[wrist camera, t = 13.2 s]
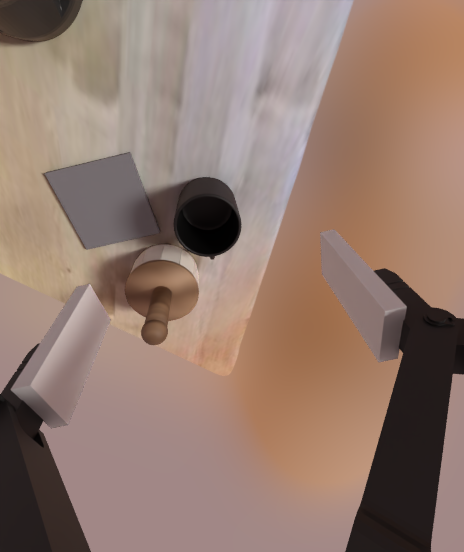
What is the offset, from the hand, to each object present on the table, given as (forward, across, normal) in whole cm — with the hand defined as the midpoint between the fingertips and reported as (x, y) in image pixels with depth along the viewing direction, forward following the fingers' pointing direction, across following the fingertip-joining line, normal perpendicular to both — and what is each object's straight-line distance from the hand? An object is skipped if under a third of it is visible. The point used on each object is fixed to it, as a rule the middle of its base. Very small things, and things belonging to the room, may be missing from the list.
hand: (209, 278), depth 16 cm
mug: (+33, -2, -8) cm, 34 cm away
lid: (+27, -12, -18) cm, 34 cm away
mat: (+33, -17, -3) cm, 37 cm away
